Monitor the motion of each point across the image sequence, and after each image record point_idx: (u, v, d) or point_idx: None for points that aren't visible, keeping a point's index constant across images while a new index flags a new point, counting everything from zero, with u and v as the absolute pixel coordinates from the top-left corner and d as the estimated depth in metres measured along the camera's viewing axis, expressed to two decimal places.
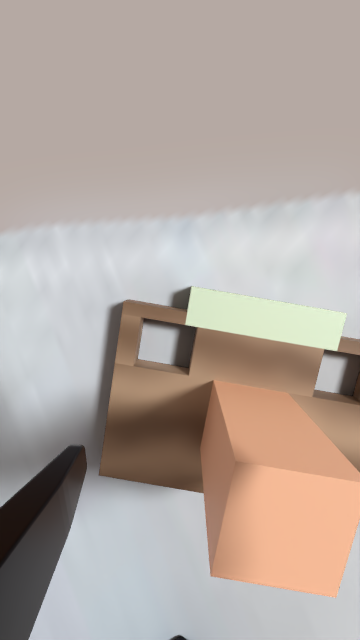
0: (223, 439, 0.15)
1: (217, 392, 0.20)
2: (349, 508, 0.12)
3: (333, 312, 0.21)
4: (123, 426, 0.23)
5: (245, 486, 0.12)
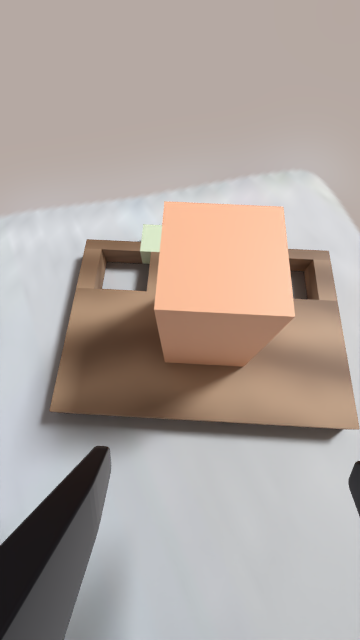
0: None
1: None
2: (274, 227, 0.13)
3: None
4: (81, 348, 0.21)
5: (176, 219, 0.14)
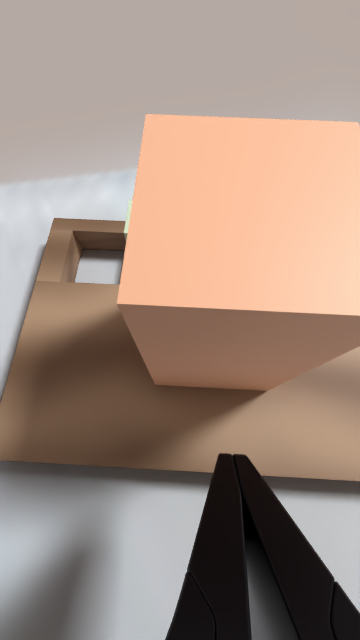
0: None
1: None
2: (346, 154, 0.07)
3: None
4: (37, 364, 0.15)
5: (166, 142, 0.07)
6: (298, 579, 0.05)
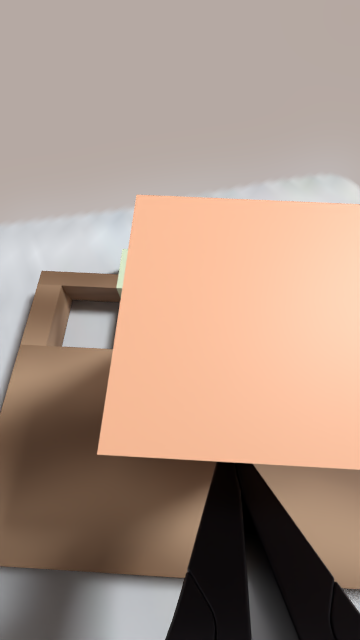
0: None
1: None
2: None
3: None
4: (19, 445, 0.14)
5: (158, 231, 0.07)
6: (298, 579, 0.05)
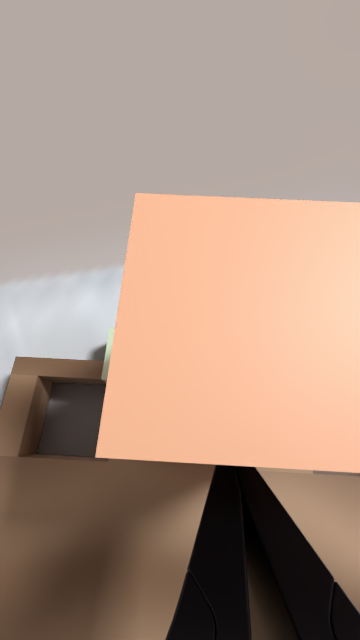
0: None
1: None
2: None
3: None
4: None
5: (158, 230, 0.07)
6: (298, 579, 0.05)
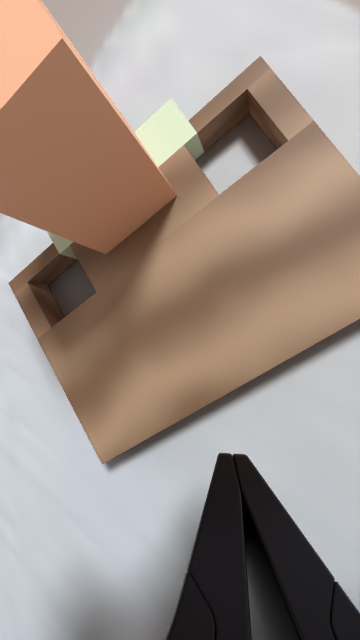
0: None
1: None
2: None
3: (159, 110, 0.17)
4: (84, 392, 0.19)
5: None
6: (298, 579, 0.05)
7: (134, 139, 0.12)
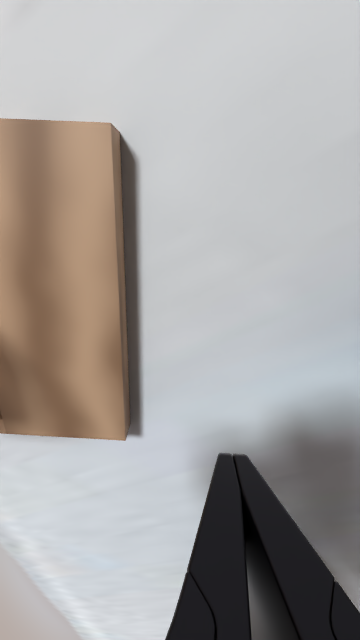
0: None
1: None
2: None
3: None
4: (66, 424, 0.22)
5: None
6: (298, 579, 0.05)
7: None
